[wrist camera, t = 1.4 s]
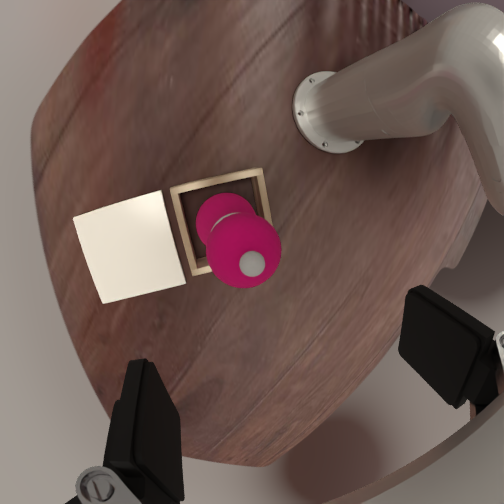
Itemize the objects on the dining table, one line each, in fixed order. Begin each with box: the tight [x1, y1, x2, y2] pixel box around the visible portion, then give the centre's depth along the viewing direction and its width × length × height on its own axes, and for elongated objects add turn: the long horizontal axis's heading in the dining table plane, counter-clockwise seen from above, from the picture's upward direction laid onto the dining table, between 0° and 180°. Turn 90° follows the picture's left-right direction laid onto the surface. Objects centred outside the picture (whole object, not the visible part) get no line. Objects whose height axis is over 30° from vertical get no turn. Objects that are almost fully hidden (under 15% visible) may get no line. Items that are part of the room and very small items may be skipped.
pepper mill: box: [196, 193, 281, 288], centre depth 28 cm, size 7×7×20 cm
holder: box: [170, 168, 273, 276], centre depth 36 cm, size 11×11×4 cm
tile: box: [73, 190, 186, 304], centre depth 35 cm, size 13×13×1 cm
